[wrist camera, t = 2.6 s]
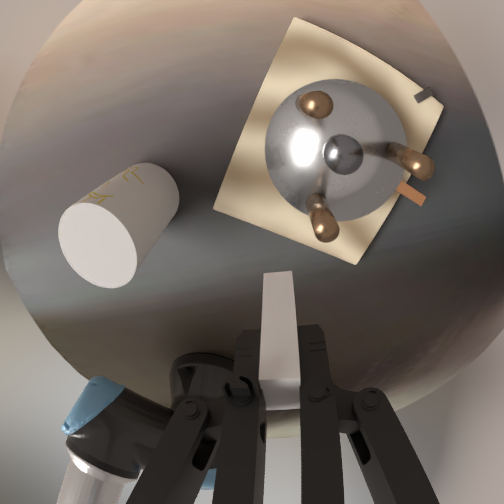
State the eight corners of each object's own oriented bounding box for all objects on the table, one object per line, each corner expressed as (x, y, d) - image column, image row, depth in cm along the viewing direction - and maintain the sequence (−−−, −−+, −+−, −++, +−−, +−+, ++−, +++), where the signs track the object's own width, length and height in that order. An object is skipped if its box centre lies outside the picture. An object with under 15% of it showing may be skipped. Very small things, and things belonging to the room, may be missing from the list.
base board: (352, 258, 33) (356, 266, 31) (215, 203, 30) (212, 210, 29) (438, 100, 22) (447, 102, 20) (295, 16, 19) (297, 11, 17)
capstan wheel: (387, 246, 30) (413, 287, 23) (243, 183, 27) (234, 214, 20) (445, 146, 23) (488, 165, 16) (299, 56, 20) (311, 39, 13)
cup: (154, 149, 27) (94, 183, 17) (192, 208, 31) (156, 268, 20) (106, 185, 29) (45, 231, 19) (142, 237, 33) (98, 298, 23)
